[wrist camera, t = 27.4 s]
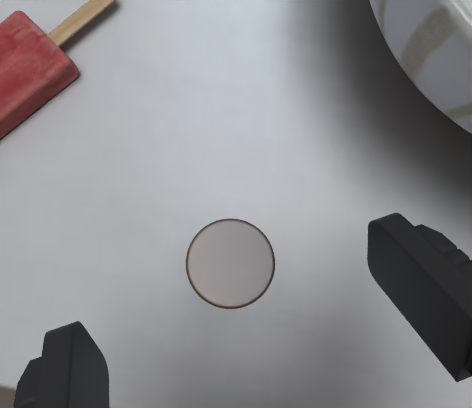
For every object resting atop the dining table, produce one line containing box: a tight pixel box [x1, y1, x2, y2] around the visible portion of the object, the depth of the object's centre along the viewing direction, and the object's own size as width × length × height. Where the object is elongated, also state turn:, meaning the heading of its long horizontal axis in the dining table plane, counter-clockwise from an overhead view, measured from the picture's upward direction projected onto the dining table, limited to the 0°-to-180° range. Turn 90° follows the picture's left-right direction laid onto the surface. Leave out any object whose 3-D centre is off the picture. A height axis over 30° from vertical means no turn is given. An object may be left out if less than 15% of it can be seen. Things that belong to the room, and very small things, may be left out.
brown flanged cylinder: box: [186, 219, 275, 309], centre depth 16 cm, size 3×3×12 cm
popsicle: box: [0, 0, 115, 138], centre depth 23 cm, size 4×2×15 cm
